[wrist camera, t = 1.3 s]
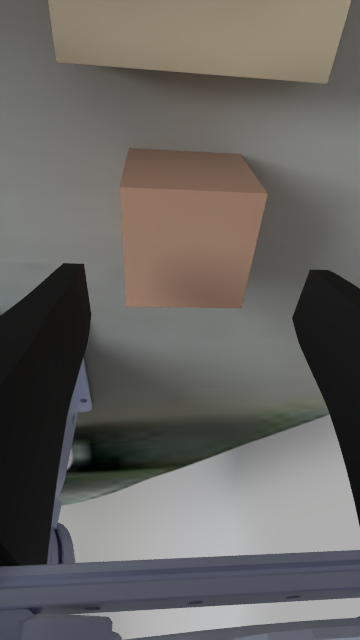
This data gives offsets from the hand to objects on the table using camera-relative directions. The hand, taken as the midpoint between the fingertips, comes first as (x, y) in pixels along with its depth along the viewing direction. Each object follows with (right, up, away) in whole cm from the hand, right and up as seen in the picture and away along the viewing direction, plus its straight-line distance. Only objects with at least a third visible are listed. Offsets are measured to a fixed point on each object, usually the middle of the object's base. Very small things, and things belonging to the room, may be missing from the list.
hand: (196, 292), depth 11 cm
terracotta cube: (-1, +5, +6) cm, 8 cm away
